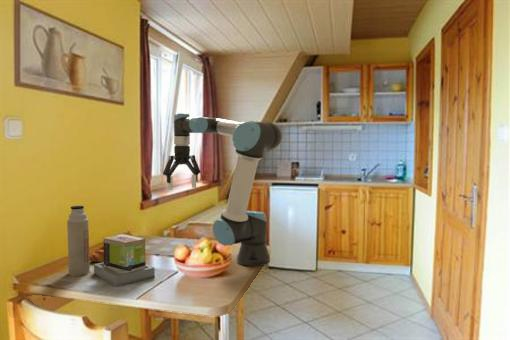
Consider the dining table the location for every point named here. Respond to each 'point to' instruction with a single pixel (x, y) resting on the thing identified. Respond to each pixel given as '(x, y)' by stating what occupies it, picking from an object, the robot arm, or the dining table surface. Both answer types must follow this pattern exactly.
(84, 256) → the thermos bottle
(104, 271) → the tray
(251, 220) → the robot arm
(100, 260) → the croissant
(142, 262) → the tea box
